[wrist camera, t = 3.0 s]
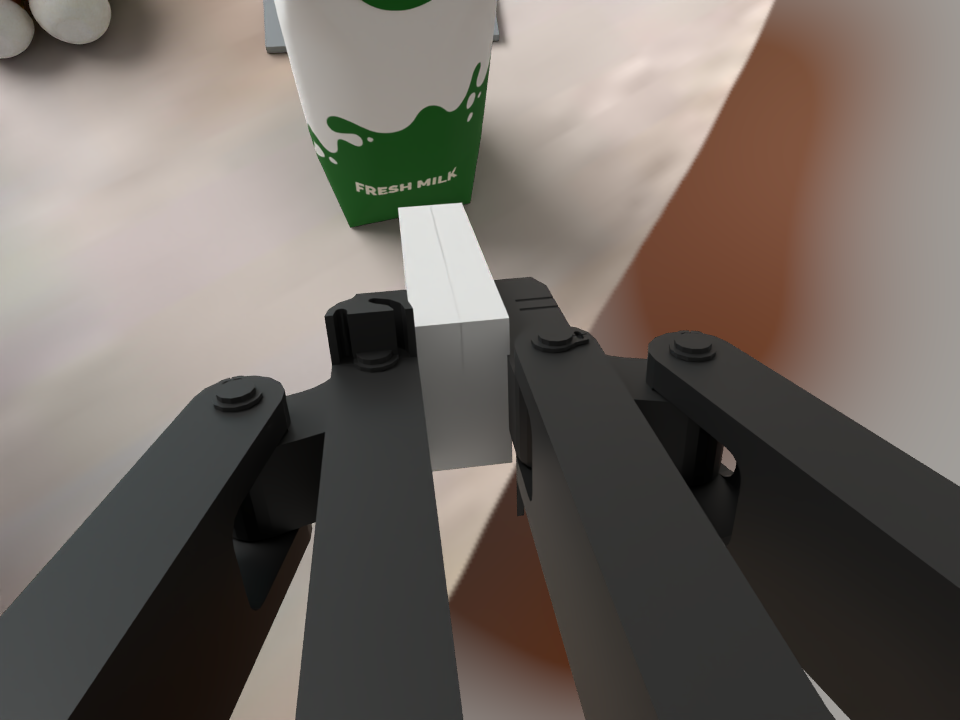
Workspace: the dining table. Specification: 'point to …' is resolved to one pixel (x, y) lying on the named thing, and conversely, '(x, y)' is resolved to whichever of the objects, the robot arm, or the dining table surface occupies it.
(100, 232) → the dining table surface
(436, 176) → the fresh milk carton
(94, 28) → the rainbow cloud toy
